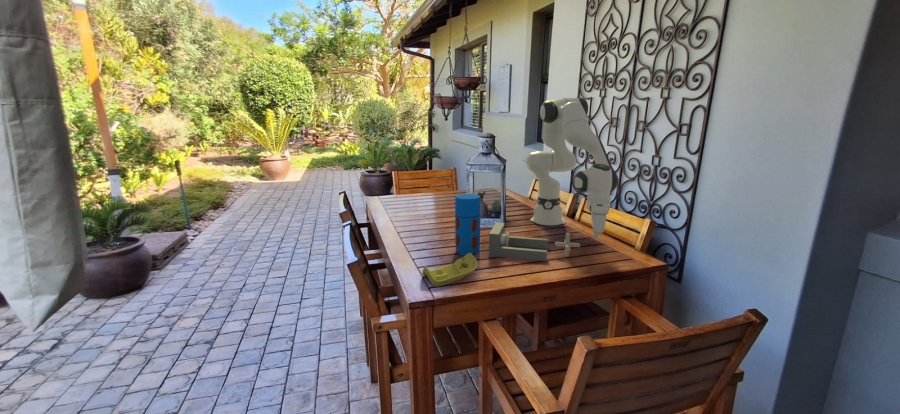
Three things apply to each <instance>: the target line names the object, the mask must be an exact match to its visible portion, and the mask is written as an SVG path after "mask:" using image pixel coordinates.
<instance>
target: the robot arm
mask: <svg viewBox="0 0 900 414" xmlns="http://www.w3.org/2000/svg"><path fill="white" fill-rule="evenodd" d="M588 113H589V104H588V101H587V100H586V98H584V97H579V96H577V97H563V98H556V99H548V100H545V101H543V102H542V104H541V105H540V110H539V115H540V119H541V120H542V122H543V131H542V143H543V144H544V145H545V146H547V147H548V148H550V149H551V150H538V151H532V152H530V153H529V154H528V155H527V157H526V159H525V162H526V163H525V164H526V166H527V168H528V170H529V171H530V172H531V173H532V174H534V176H535V178H536V179H537V183H538V196H537V202H536V203H537V204H536V205H534V208H533V216H532V217H531V218H530V220H529V222H533V223H536V224H538V225H540V226H541V225H542V226H558V225H563V224H566V221H565V219H564V218H563V207H561V205H560V204H561V197H560V191H561V184H560V182H559V180H557V179H556V178H554V177H552V176H550V173H561V172H562V173H565V172H570V171H573V169H575V167H576V166H577V158H576V155H575V154H574V153H573V152H572V151H571V150H570V149H569V147H567V144H566V142H567V143H568V144H569V145H571V146H572V147H575V148H578V149H579V148H580V149H582V150H585V151H586V152H588V153H590V155H591V156H592V157H593V160H594V164H591V166H590V167H589V168H587V169H584V170H580V171H578V172H576V173H575V175H574V178H573V186H574V188H575V190H576V191H577V192H578V193H582V194H587V197H586V198H587V199H586V209H587V210H588V211H589V214H590V223H591V226H592V231H593V233H592V234H593V235H592V236H593V238H594V239H599V236H600V234H603V233H604V230H605V226H606V221H607V215H609V211H610V209H611V200H612V196H611V193H613V192H614V190H616V189H617V188H618V185H619V179H620V178H619V176H618V173H617V172H616V170H615V169H614V168H613V165H612V164H611V160H610V159H609V156H608V154H607V151H606V149H605V146H604V144H603V143H602V140H601V138H600V137H599V136H597V135H596V134H595V132H594V131H593V130H592V129H591V126H590V124H589V120H588V117H587V115H588Z"/></svg>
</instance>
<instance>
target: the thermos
mask: <svg viewBox="0 0 900 414" xmlns="http://www.w3.org/2000/svg"><path fill="white" fill-rule="evenodd" d="M481 201H482V200H481V196H480V195H479V194H475V193H474V194H473V193H460V194H457V195H455V199H454V239H455V240H454V245H455V246H454V247H455V253H456V254H457V255H460V256H462V257H464V256H465V255H466V254H468V253H471V254H472V255H473V256H474V257H475V256H477V255H478V254H479V253H480V249H481V248H480V247H481Z"/></svg>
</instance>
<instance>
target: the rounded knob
mask: <svg viewBox="0 0 900 414" xmlns="http://www.w3.org/2000/svg"><path fill="white" fill-rule="evenodd" d="M509 236H510V232H506V233H504V234H501V245H503V246H505V247H509V246H508V245H509Z"/></svg>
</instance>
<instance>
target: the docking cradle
mask: <svg viewBox="0 0 900 414" xmlns="http://www.w3.org/2000/svg"><path fill="white" fill-rule="evenodd" d="M505 224H506V223H505V222H494V225H493V226H492V228H491V230H490V232H489V235H488V237H489V238H488V256H489V257H499V258H506V259H507V258H509V259H519V260H529V261H530V260H531V261H538V262H539V261H540V262H547V259H548V249H549V239H548V238H539V237H527V236H526V237H525V236H516V235H515V236H514V235H509V245H508V247H506V246H504V245H501V234H505Z"/></svg>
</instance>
